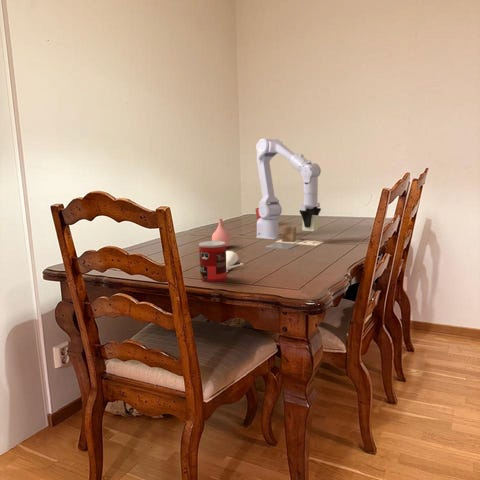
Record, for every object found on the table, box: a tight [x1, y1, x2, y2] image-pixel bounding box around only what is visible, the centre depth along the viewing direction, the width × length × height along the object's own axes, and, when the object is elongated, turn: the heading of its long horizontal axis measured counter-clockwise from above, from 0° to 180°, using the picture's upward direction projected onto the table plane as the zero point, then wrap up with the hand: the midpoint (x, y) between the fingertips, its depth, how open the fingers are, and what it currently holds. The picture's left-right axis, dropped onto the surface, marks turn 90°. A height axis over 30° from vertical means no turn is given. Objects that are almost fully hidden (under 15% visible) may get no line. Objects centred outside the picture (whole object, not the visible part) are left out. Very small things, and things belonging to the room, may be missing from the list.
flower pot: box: [255, 207, 261, 222], centre depth 234 cm, size 11×11×10 cm
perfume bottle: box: [211, 218, 231, 247], centre depth 177 cm, size 8×8×12 cm
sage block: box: [301, 215, 320, 232], centre depth 182 cm, size 5×5×6 cm
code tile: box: [295, 239, 324, 246], centre depth 184 cm, size 9×9×1 cm
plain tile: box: [275, 239, 303, 244], centre depth 189 cm, size 9×9×1 cm
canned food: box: [198, 240, 228, 283], centre depth 131 cm, size 8×8×11 cm
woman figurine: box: [226, 250, 245, 273], centre depth 146 cm, size 12×4×18 cm
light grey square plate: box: [265, 242, 299, 251], centre depth 178 cm, size 10×10×1 cm
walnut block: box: [281, 225, 297, 243], centre depth 189 cm, size 5×5×6 cm
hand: (310, 226), depth 182 cm, fingers closed on sage block, 5 cm apart
